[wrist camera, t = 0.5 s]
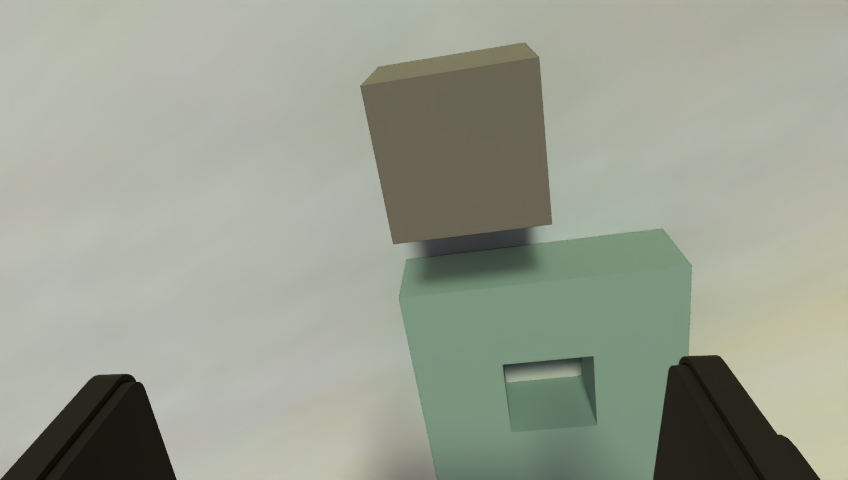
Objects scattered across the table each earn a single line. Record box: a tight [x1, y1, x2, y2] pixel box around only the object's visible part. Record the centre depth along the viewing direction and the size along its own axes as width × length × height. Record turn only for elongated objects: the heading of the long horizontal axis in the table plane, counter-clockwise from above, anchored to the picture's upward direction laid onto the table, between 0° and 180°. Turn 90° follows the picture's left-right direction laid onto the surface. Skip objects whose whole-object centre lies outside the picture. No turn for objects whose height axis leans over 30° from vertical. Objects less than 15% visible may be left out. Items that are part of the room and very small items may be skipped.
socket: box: [399, 229, 692, 480], centre depth 34 cm, size 15×15×4 cm
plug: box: [360, 43, 552, 244], centre depth 26 cm, size 7×7×9 cm
